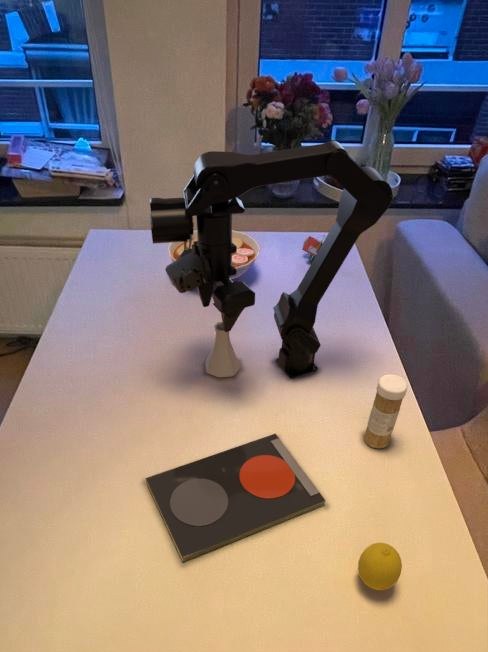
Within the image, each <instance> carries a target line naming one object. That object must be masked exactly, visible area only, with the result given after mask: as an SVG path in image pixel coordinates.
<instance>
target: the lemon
mask: <svg viewBox="0 0 488 652" xmlns="http://www.w3.org/2000/svg"><path fill="white" fill-rule="evenodd" d="M402 568H403V564H402V558H401V555H400V553H399V552H398V551H397V549H396V548H395V547H394V546H392V545H391V544H388V543H385V542H375V543H372V544H370V545H368V546H367V547H366V548H365V549H363V551H362V553H360V556H359V559H358V563H357V571H358V575H359V577H360V579H361V581H362V582H363V583H364V584H365V585H366V586H367V587H368V588H370V589H372V590H376V591H384V590H388V589H390V588H392V587H393V586H395V584H396V583H397V582H398V581H399V579H400V577H401V575H402Z"/></svg>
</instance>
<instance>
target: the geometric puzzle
mask: <svg viewBox="0 0 488 652" xmlns="http://www.w3.org/2000/svg"><path fill="white" fill-rule="evenodd" d="M317 236H319V237H317V238H315V237H313V236H311V235H309V236H308V237H306V238H305V240H304V241H303V243H302V249H301V250H302V251H303V253H307V254H308V257H309V255H310V256H311V258H310V259H309V260H308V263H309V264H312V261H313V258H315V256H316V255H317V253H318V251H319V249H320V248H321V246H322V244H323V242H324V239H325V238H326V237H327V235H326V234H324V235H322V236H323V237H322V239H321V240H318V239H319V238H320V234H319V235H317Z"/></svg>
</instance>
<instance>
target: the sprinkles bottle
mask: <svg viewBox="0 0 488 652" xmlns="http://www.w3.org/2000/svg"><path fill="white" fill-rule="evenodd" d="M407 390H408V382H407V381H406V379H405V378H403V377H402V376H400V375H397V374H389V373H388V374H385V375H382V376H380V378H379V379H378V382H377V384H376V393H375V397H374V400H373V404H372V406H371V410H370V413H369V417H368V421H367V426H366V429H365V432H364V434H363V441H364V442H365V443H366V444H367V445H368V446H369V447H371V448H373V449H384V448H386V447H388V446H389V444H390V442H391V436H392V433H393V431H394V429H395V426H396V422H397V420H398V417H399V414H400V411H401V406H402V402H403V399H405V396H406V395H407Z"/></svg>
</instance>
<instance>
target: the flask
mask: <svg viewBox="0 0 488 652" xmlns="http://www.w3.org/2000/svg"><path fill="white" fill-rule="evenodd" d="M214 331H215V338H214V342H213V344H212V347H211V349H210V352H209V354H208V355H207V356H208V357H207V359H206V360H205V363H204V366H205V372H206V374H209V375H212V376H214V377H217V378H229V377H234V376H235V375H236V374H237V372H239V371H240V369H241V368H240V362H239V359H238V356H237V354H236V352H235V349H234V347H233V344H232V342H231V339H230V331H229V332H225V331H224V328H223V323H222V321H218V322H217V323H215V324H214Z"/></svg>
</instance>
